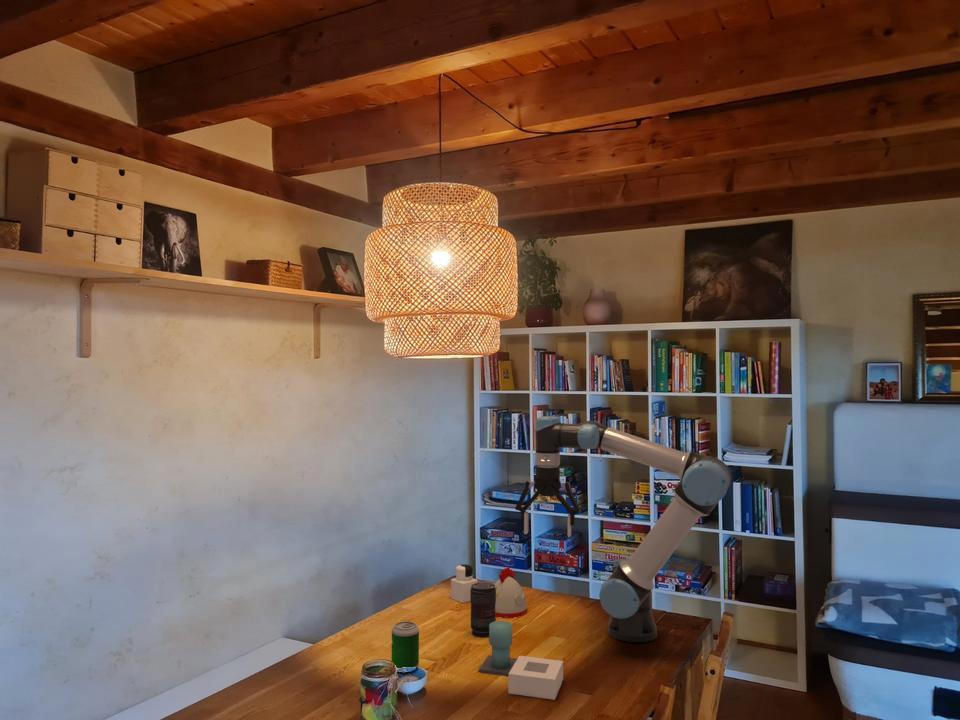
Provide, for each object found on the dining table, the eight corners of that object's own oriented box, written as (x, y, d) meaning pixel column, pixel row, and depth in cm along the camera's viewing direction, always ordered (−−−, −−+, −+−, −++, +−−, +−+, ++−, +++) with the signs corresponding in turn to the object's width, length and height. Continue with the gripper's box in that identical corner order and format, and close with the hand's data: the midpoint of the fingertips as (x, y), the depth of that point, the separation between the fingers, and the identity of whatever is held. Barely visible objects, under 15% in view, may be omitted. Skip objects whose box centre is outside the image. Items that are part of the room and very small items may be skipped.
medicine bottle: (465, 594, 260) (465, 562, 260) (478, 599, 254) (478, 566, 255) (450, 598, 255) (450, 565, 255) (462, 603, 250) (462, 569, 250)
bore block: (563, 679, 188) (563, 661, 188) (554, 699, 176) (554, 679, 176) (519, 674, 191) (519, 655, 191) (508, 693, 180) (508, 673, 180)
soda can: (424, 668, 195) (424, 624, 195) (404, 677, 189) (404, 632, 189) (406, 661, 200) (406, 618, 200) (385, 669, 194) (386, 625, 194)
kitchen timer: (478, 612, 241) (478, 568, 241) (501, 602, 252) (502, 560, 252) (512, 621, 232) (512, 575, 232) (534, 610, 243) (534, 566, 243)
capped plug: (514, 661, 198) (515, 622, 198) (508, 671, 191) (508, 630, 191) (492, 658, 199) (493, 619, 200) (486, 667, 193) (486, 627, 193)
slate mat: (522, 662, 199) (522, 659, 199) (514, 676, 190) (514, 673, 190) (488, 657, 202) (488, 655, 202) (478, 672, 193) (478, 669, 193)
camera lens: (496, 629, 225) (497, 581, 225) (494, 638, 217) (495, 589, 217) (471, 628, 226) (471, 581, 226) (468, 637, 218) (469, 588, 218)
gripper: (505, 466, 219) (505, 534, 219) (586, 469, 212) (586, 539, 212) (511, 463, 226) (511, 529, 226) (589, 466, 219) (589, 534, 219)
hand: (547, 534), depth 219 cm, fingers open, 13 cm apart
